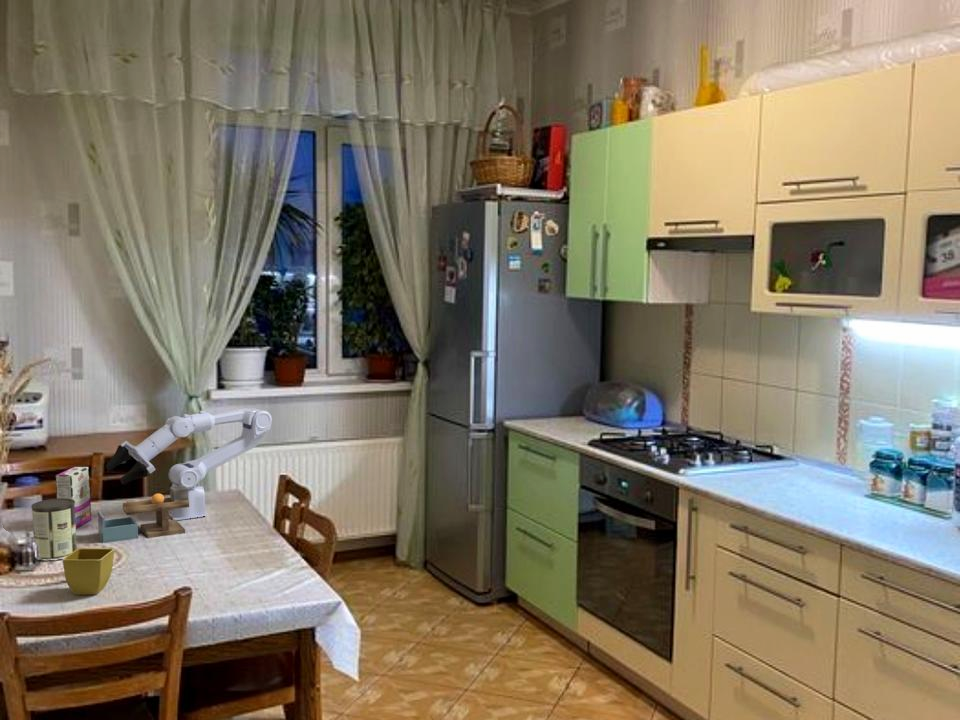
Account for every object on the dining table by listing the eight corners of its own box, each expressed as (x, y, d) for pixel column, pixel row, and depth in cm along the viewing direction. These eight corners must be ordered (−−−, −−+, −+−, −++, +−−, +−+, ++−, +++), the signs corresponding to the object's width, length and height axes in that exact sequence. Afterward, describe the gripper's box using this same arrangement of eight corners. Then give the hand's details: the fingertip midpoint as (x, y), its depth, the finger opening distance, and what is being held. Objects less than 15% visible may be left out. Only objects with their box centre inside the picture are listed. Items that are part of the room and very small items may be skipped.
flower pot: (116, 584, 211) (115, 547, 210) (102, 598, 202) (100, 559, 201) (79, 585, 210) (77, 548, 210) (63, 598, 202) (61, 559, 201)
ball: (163, 503, 258) (162, 491, 258) (165, 506, 255) (165, 494, 255) (150, 505, 256) (150, 493, 256) (152, 507, 253) (152, 495, 253)
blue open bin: (132, 530, 257) (131, 506, 256) (138, 537, 249) (137, 513, 248) (98, 534, 252) (97, 510, 251) (103, 542, 244) (102, 517, 244)
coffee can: (53, 548, 240) (51, 496, 238) (85, 551, 237) (83, 499, 236) (24, 559, 230) (22, 506, 228) (57, 563, 227) (55, 509, 226)
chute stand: (175, 522, 264) (174, 497, 264) (185, 532, 254) (184, 506, 253) (140, 527, 259) (139, 502, 259) (148, 537, 249) (147, 511, 248)
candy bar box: (75, 520, 268) (73, 466, 266) (92, 520, 268) (89, 466, 266) (57, 530, 257) (54, 474, 255) (74, 530, 256) (72, 474, 255)
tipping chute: (179, 498, 267) (179, 481, 267) (189, 507, 257) (188, 489, 256) (119, 505, 259) (118, 488, 258) (126, 515, 248) (126, 496, 248)
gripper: (134, 425, 265) (95, 454, 258) (162, 450, 258) (122, 480, 251) (143, 439, 270) (104, 468, 264) (170, 464, 263) (131, 494, 257)
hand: (114, 475), depth 258 cm, fingers open, 7 cm apart
